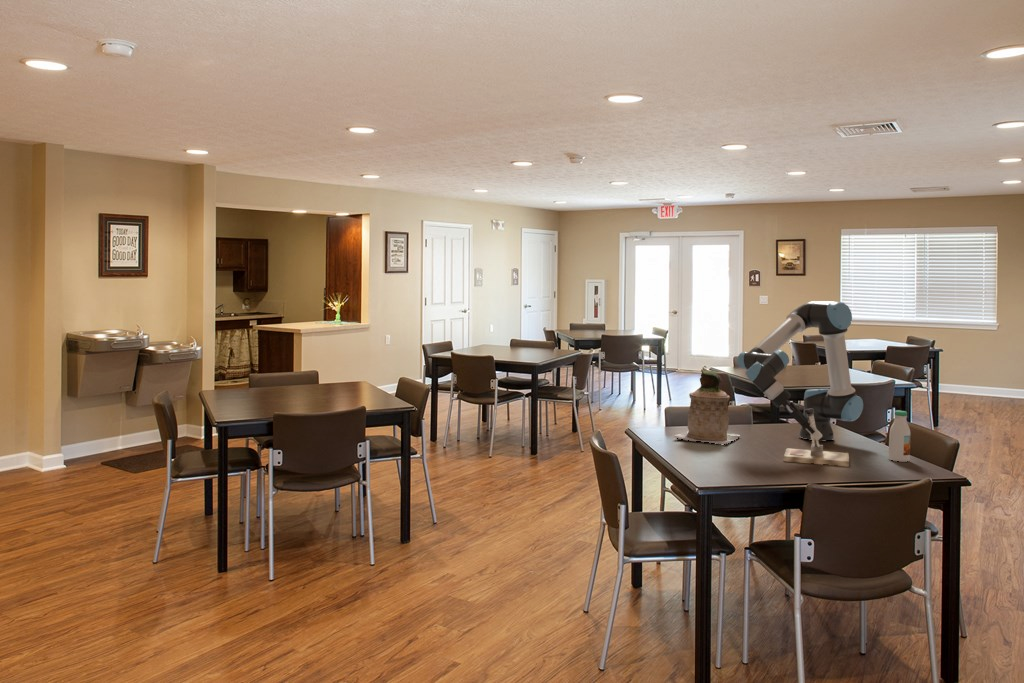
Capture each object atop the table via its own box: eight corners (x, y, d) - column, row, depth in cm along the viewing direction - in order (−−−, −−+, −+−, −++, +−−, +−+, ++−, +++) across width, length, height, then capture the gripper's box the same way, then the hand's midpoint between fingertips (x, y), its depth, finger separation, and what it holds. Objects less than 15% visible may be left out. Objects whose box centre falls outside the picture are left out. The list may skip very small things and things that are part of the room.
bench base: (783, 461, 323) (784, 447, 323) (786, 452, 340) (786, 439, 339) (849, 466, 314) (849, 452, 314) (848, 458, 331) (848, 444, 330)
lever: (812, 454, 326) (804, 410, 326) (813, 452, 329) (804, 409, 329) (821, 453, 324) (813, 409, 325) (821, 451, 327) (813, 407, 328)
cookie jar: (727, 446, 352) (729, 373, 350) (672, 440, 365) (674, 369, 362) (741, 438, 374) (743, 368, 372) (689, 432, 386) (691, 365, 384)
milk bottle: (896, 462, 323) (898, 412, 321) (884, 458, 330) (886, 409, 329) (913, 462, 324) (916, 412, 323) (900, 458, 332) (903, 409, 331)
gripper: (771, 398, 339) (813, 440, 334) (769, 403, 325) (812, 447, 320) (785, 386, 337) (827, 428, 332) (783, 390, 323) (827, 435, 317)
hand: (819, 437), depth 326 cm, fingers closed on lever, 3 cm apart
